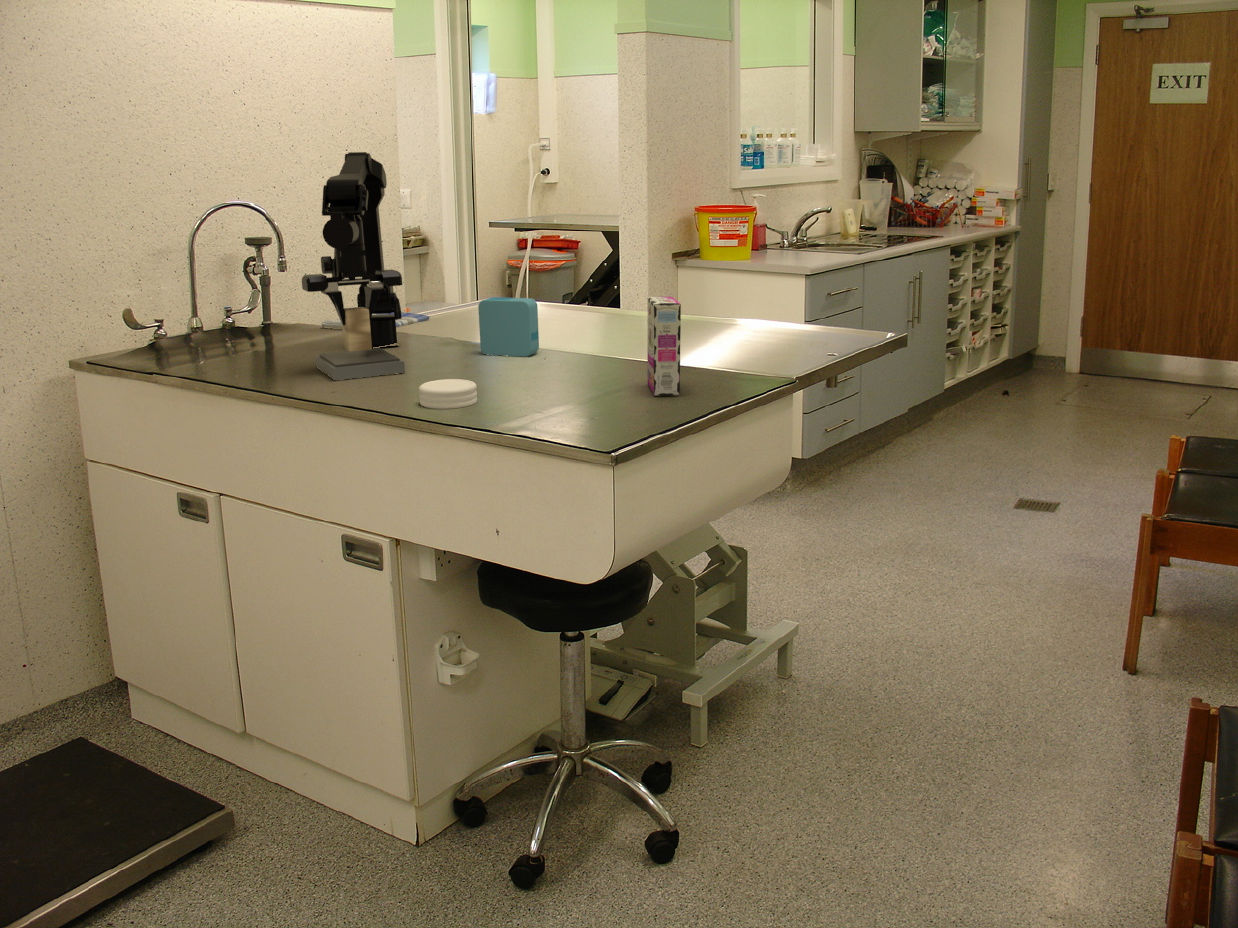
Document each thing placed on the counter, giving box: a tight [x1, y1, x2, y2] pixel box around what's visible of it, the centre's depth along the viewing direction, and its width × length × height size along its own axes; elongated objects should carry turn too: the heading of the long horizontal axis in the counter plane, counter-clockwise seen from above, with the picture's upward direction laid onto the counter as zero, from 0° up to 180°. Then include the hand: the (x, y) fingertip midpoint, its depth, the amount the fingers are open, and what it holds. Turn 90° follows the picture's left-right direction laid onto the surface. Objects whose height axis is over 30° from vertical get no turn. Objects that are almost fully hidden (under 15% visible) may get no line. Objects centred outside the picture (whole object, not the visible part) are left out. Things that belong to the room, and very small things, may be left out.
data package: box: [477, 296, 540, 358], centre depth 233 cm, size 12×4×12 cm, turn 71°
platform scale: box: [315, 348, 406, 381], centre depth 219 cm, size 14×16×3 cm
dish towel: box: [320, 311, 430, 328], centre depth 281 cm, size 17×24×3 cm
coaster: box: [418, 378, 478, 410], centre depth 189 cm, size 10×10×4 cm
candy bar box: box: [647, 296, 682, 397], centre depth 194 cm, size 11×5×16 cm, turn 5°
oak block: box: [342, 306, 372, 351], centre depth 217 cm, size 4×4×8 cm
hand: (355, 324), depth 217 cm, fingers closed on oak block, 4 cm apart
